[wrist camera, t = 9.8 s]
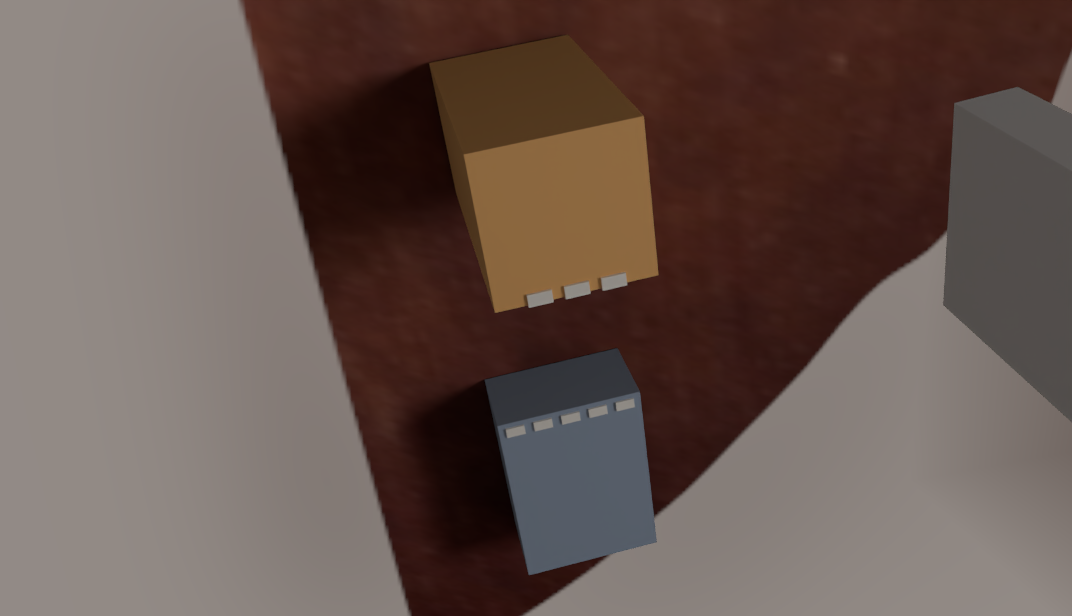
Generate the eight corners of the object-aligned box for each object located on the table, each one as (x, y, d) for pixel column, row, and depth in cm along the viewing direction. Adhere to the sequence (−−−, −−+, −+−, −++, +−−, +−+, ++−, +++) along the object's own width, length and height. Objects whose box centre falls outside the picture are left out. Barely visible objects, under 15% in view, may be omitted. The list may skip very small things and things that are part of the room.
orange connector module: (584, 166, 44) (659, 277, 34) (456, 194, 43) (495, 315, 34) (567, 34, 40) (644, 117, 31) (428, 63, 40) (464, 155, 30)
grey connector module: (635, 493, 54) (657, 543, 51) (515, 523, 54) (529, 576, 50) (617, 348, 49) (640, 392, 46) (484, 379, 48) (497, 427, 45)
